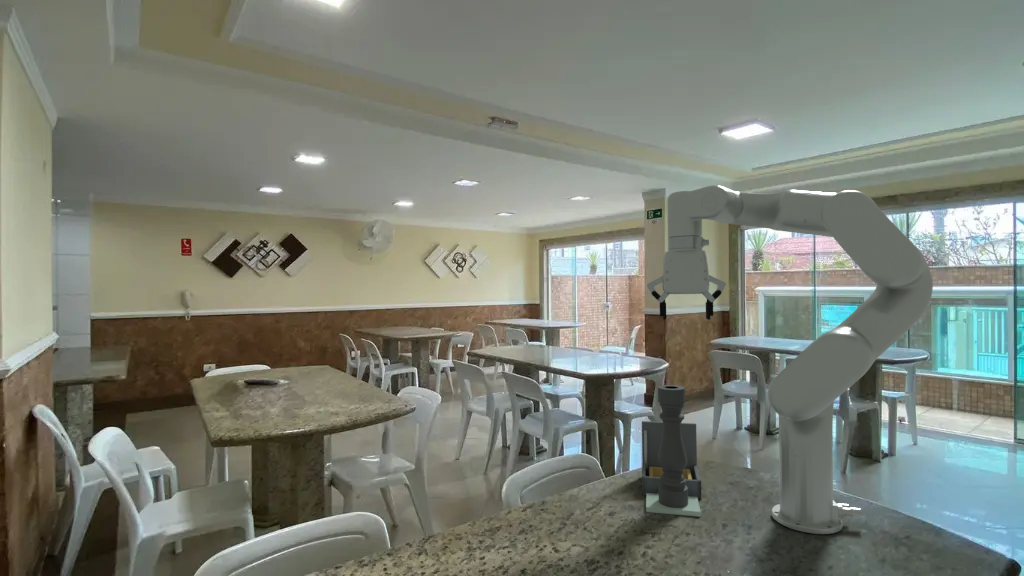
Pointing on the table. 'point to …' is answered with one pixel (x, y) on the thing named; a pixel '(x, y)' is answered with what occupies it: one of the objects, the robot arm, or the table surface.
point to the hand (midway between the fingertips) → (686, 319)
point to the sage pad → (656, 507)
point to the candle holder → (672, 448)
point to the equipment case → (650, 462)
